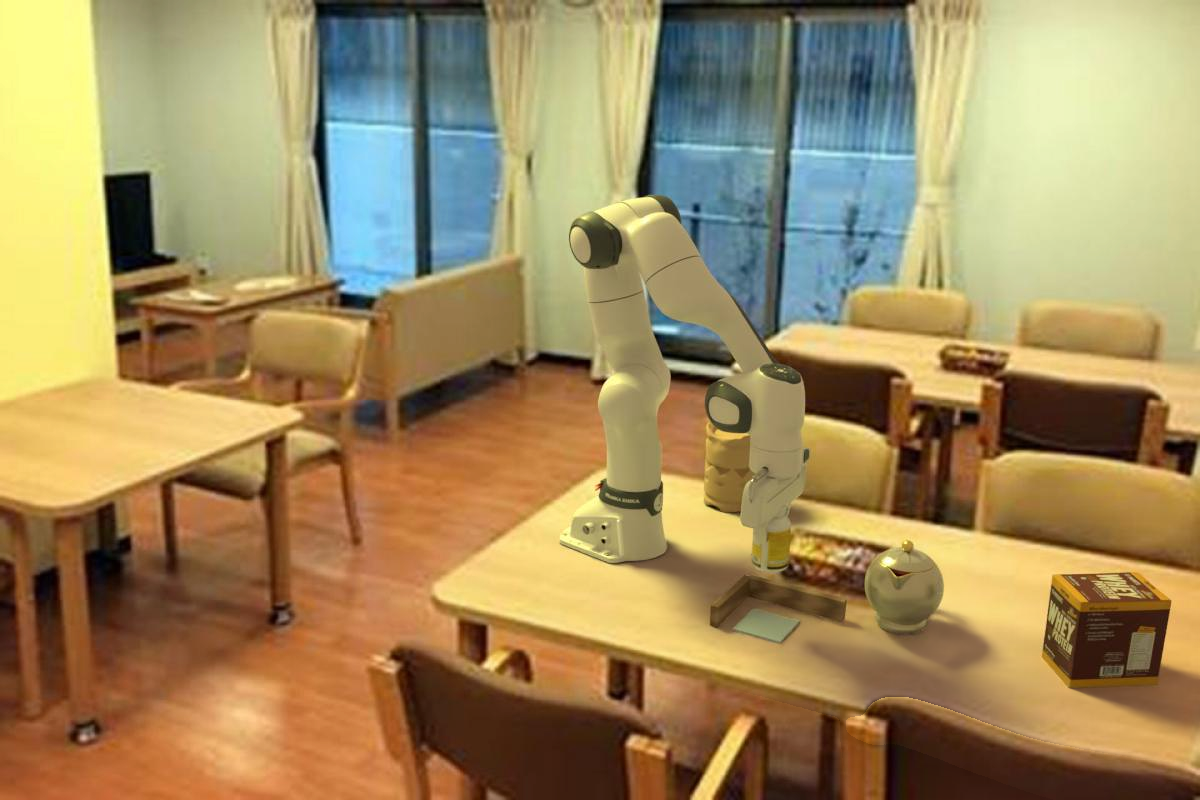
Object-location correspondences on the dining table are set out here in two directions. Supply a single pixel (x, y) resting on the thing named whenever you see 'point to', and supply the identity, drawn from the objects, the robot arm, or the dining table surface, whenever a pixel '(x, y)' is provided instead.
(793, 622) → the pad
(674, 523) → the dining table surface
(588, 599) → the dining table surface
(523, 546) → the dining table surface
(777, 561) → the pill bottle
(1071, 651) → the supplement box
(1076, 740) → the dining table surface
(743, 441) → the container
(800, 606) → the wooden l-shaped wall
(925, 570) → the teapot
